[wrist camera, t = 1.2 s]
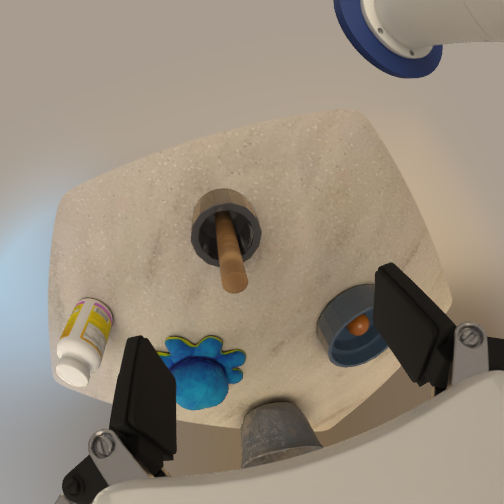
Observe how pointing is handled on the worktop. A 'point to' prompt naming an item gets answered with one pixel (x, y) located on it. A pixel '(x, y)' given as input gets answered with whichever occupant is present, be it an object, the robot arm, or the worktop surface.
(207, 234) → the holder
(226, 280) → the stick
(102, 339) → the supplement bottle
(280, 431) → the grey bucket
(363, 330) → the bead
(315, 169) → the worktop surface
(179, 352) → the plush toy
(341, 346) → the mixing bowl
